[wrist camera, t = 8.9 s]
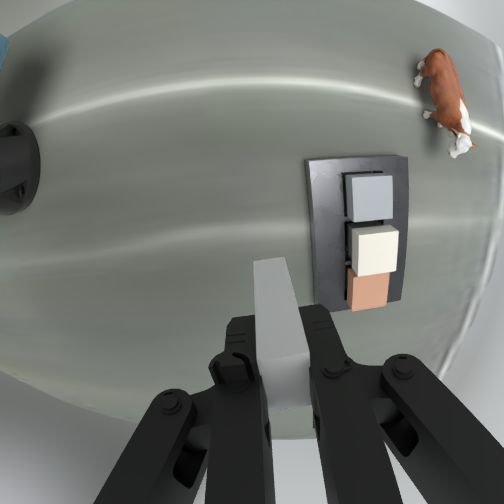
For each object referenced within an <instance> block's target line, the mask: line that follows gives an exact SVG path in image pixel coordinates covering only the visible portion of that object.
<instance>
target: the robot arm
mask: <svg viewBox="0 0 504 504" xmlns="http://www.w3.org/2000/svg"><path fill="white" fill-rule="evenodd" d="M8 49H9V43H8V40H7V39H6V37H4V36H3V35H1V34H0V71H1V68H2V65H3V62H4V60H5V57H6V55H7V52H8ZM39 173H40V157H39V150H38V145H37V142H36V139H35V136H34V134H33V133H32V131H31V129H30V128H29V127H28V126H27V125H25V124H24V123H21V122H10V123H5V124H3V125H1V126H0V215H11V214H15V213H17V212H19V211H21V210H23V209H25V208H26V207H27V206H28V205H29V204H30V202H31V201H32V199H33V197H34V195H35V192H36V189H37V186H38V181H39ZM253 267H254V297H255V315H249V316H242V317H234V318H232V319H231V321H230V322H229V324H228V325H227V329H226V339H225V349H224V352H222V353H220V354H218V355H216V356H215V357H214V358H213V359H212V360H211V362H210V364H209V367H208V368H209V371H210V373H211V376H212V378H213V380H214V383H215V385H214V386H212V387H211V388H209V389H207V390H205V391H202V392H199V393H195V394H192V395H189V394H188V393H187V392H186V391H183V390H181V389H169V390H165V391H163V392H161V393H160V394H158V395H157V396H156V397H155V398H154V399H153V401H152V402H151V404H150V406H149V408H148V409H147V411H146V413H145V414H144V416H143V418H142V420H141V421H140V423H139V425H138V427H137V428H136V430H135V432H134V433H133V435H132V437H131V439H130V440H129V442H128V444H127V446H126V447H125V449H124V451H123V453H122V454H121V456H120V458H119V460H118V461H117V463H116V465H115V467H114V468H113V470H112V472H111V473H110V475H109V477H108V479H107V480H106V482H105V484H104V486H103V487H102V489H101V491H100V493H99V495H98V496H97V498H96V500H95V502H94V503H93V504H193V502H194V499H195V497H196V494H197V491H198V489H199V487H200V484H201V482H202V479H203V477H204V474H205V471H206V469H207V479H206V492H205V504H276V503H275V488H274V473H273V458H272V442H271V427H270V421H269V417H268V411H273V410H281V409H288V408H295V407H301V406H307V405H311V403H312V408H313V428H315V431H316V437H317V442H318V448H319V453H320V459H321V465H322V471H323V477H324V483H325V489H326V496H327V502H328V504H403V502H402V498H401V495H400V491H399V488H398V484H397V481H396V478H395V475H394V471H393V468H392V465H391V462H390V458H389V455H388V452H387V449H386V446H385V443H386V444H387V446H388V447H389V449H390V450H391V452H392V453H393V454H394V456H395V457H396V459H397V460H398V461H399V463H400V465H401V466H402V467H403V469H404V470H405V472H406V473H407V475H408V476H409V477H410V479H411V480H412V482H413V483H414V485H415V486H416V487H417V489H418V490H419V492H420V493H421V495H422V496H423V498H424V499H425V500H426V502H427V503H428V504H504V448H503V447H502V446H501V445H500V443H499V442H498V441H497V440H496V439H495V438H494V437H493V436H492V435H491V433H490V432H489V431H488V430H487V429H486V428H485V427H484V426H483V425H482V424H481V423H480V421H478V420H477V418H476V417H475V416H474V415H473V414H472V413H471V412H470V411H469V410H468V409H467V408H466V407H465V406H464V405H463V403H462V402H461V401H460V400H459V399H458V398H457V397H456V396H455V395H454V394H453V393H452V392H451V391H450V390H449V389H448V388H447V387H446V386H445V385H444V384H443V383H442V382H441V381H440V380H439V379H438V378H437V377H436V376H435V375H434V374H433V373H432V372H431V371H430V370H429V369H428V368H427V367H426V366H425V365H424V364H423V363H422V362H421V361H420V360H419V359H417V358H416V357H414V356H412V355H408V354H397V355H394V356H391V357H390V358H388V359H387V360H386V361H385V363H384V365H383V366H368V365H361V364H358V363H356V362H354V361H353V360H352V359H351V358H349V357H348V356H347V354H346V353H345V350H344V348H343V345H342V342H341V340H340V337H339V335H338V332H337V330H336V327H335V325H334V322H333V320H332V318H331V315H330V313H329V310H328V309H327V308H325V307H324V306H323V305H322V304H315V305H309V306H303V307H298V305H297V302H296V298H295V294H294V290H293V287H292V283H291V279H290V276H289V272H288V268H287V265H286V261H285V258H284V256H283V257H277V258H271V259H264V260H258V261H253ZM384 442H385V443H384ZM207 466H208V467H207Z"/></svg>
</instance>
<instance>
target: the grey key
mask: <svg viewBox="0 0 504 504" xmlns="http://www.w3.org/2000/svg"><path fill="white" fill-rule="evenodd" d="M342 184H343V201H344V208H346V209H347V216H348V217H349V218H350V219H351V220H352V221H353V222H361V221H371V220H381V219H392V218H393V182H392V175H389V174H385V173H372V174H371V173H368V174H350V175H342Z"/></svg>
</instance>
